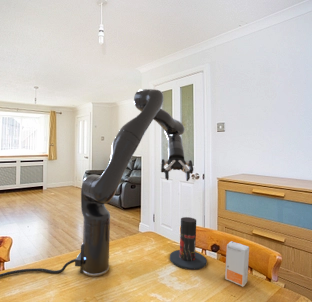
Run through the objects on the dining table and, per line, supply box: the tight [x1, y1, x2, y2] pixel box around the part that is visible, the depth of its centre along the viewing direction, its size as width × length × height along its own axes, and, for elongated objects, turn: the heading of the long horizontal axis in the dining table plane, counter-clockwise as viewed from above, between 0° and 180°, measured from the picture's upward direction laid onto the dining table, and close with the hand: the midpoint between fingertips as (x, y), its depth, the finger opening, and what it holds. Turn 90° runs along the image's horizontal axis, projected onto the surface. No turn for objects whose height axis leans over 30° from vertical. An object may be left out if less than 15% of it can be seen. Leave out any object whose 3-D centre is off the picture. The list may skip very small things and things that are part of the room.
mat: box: [169, 249, 208, 271], centre depth 88 cm, size 14×14×1 cm
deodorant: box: [179, 216, 197, 261], centre depth 88 cm, size 6×6×15 cm
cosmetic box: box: [224, 240, 250, 288], centre depth 75 cm, size 6×4×12 cm
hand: (177, 179), depth 97 cm, fingers open, 8 cm apart
